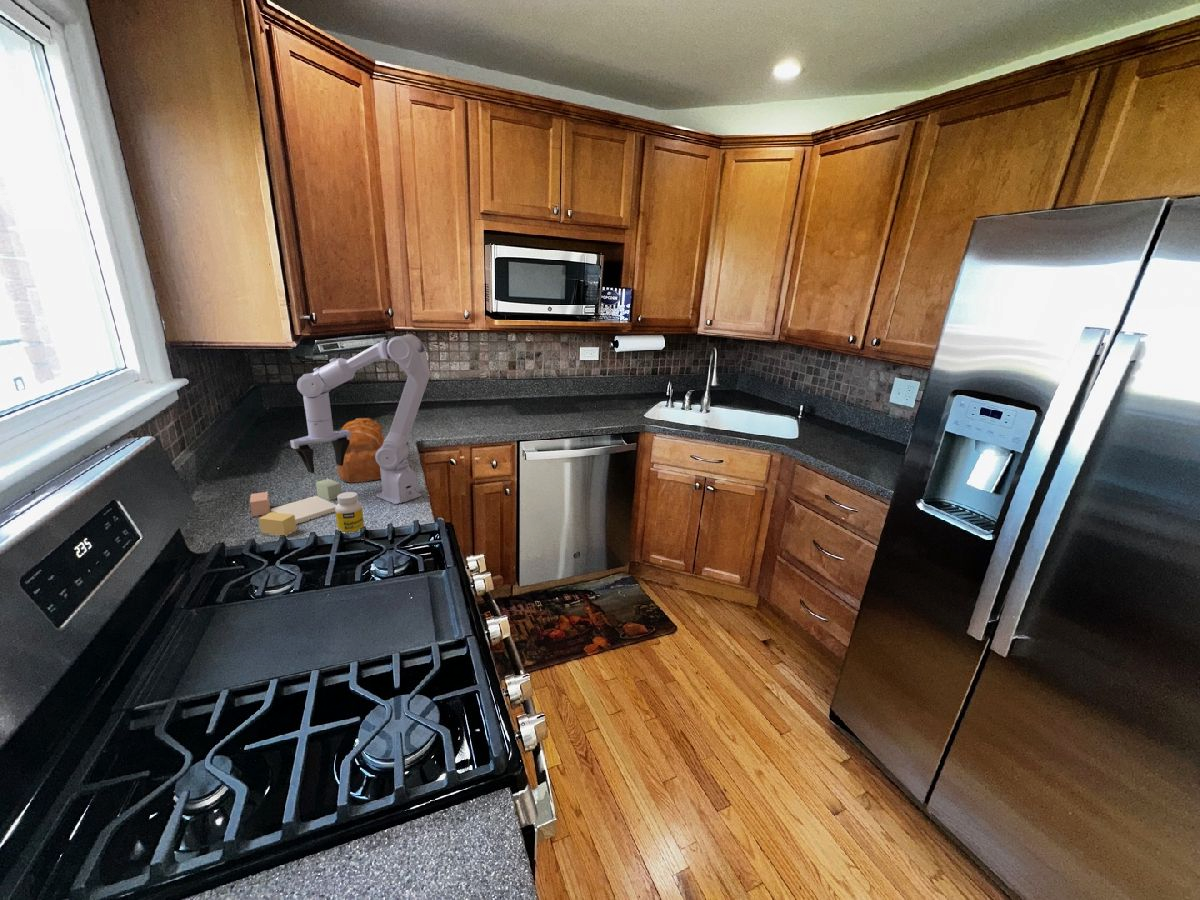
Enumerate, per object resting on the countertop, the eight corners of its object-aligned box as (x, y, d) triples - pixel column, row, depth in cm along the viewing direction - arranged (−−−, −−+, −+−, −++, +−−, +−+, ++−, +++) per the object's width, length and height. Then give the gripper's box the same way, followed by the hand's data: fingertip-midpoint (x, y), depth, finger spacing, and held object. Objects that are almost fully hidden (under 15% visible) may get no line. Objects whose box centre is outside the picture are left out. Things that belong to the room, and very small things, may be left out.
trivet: (339, 510, 120) (338, 505, 120) (293, 525, 112) (292, 520, 111) (316, 499, 126) (316, 495, 126) (271, 513, 117) (270, 508, 117)
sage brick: (342, 497, 129) (340, 483, 128) (329, 501, 126) (327, 487, 125) (330, 492, 132) (328, 478, 131) (317, 495, 129) (315, 482, 128)
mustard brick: (296, 530, 109) (294, 514, 108) (285, 537, 106) (282, 521, 105) (273, 527, 110) (271, 512, 109) (261, 534, 107) (258, 518, 106)
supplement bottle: (344, 542, 105) (338, 501, 102) (334, 534, 108) (329, 494, 105) (369, 534, 109) (364, 495, 106) (359, 527, 112) (354, 488, 109)
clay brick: (269, 514, 117) (267, 499, 116) (252, 517, 115) (249, 502, 114) (270, 506, 122) (267, 491, 120) (253, 508, 120) (250, 494, 119)
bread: (388, 455, 165) (384, 412, 161) (390, 480, 142) (385, 430, 138) (343, 458, 160) (337, 414, 155) (337, 485, 137) (331, 434, 132)
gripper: (338, 412, 131) (344, 459, 135) (281, 421, 119) (289, 472, 123) (352, 416, 127) (358, 464, 131) (295, 426, 115) (303, 478, 119)
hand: (325, 468), depth 127 cm, fingers open, 7 cm apart
